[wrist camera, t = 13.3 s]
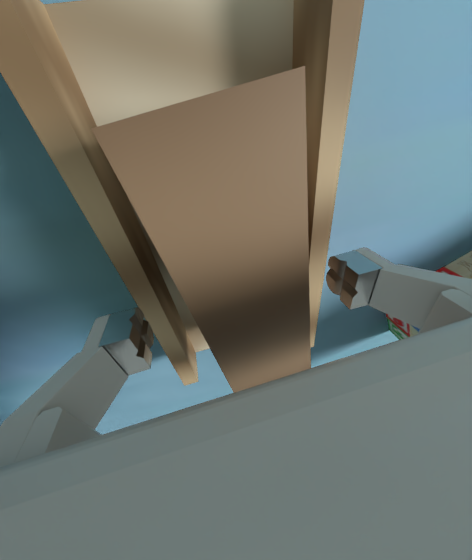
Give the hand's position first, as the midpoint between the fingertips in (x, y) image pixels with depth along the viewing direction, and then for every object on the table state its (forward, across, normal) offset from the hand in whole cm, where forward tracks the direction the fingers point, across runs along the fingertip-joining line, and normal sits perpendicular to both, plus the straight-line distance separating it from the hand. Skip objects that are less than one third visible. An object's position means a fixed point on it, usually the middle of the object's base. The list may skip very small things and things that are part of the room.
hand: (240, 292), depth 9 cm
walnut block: (+4, 0, 0) cm, 4 cm away
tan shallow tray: (+5, 0, 0) cm, 5 cm away
